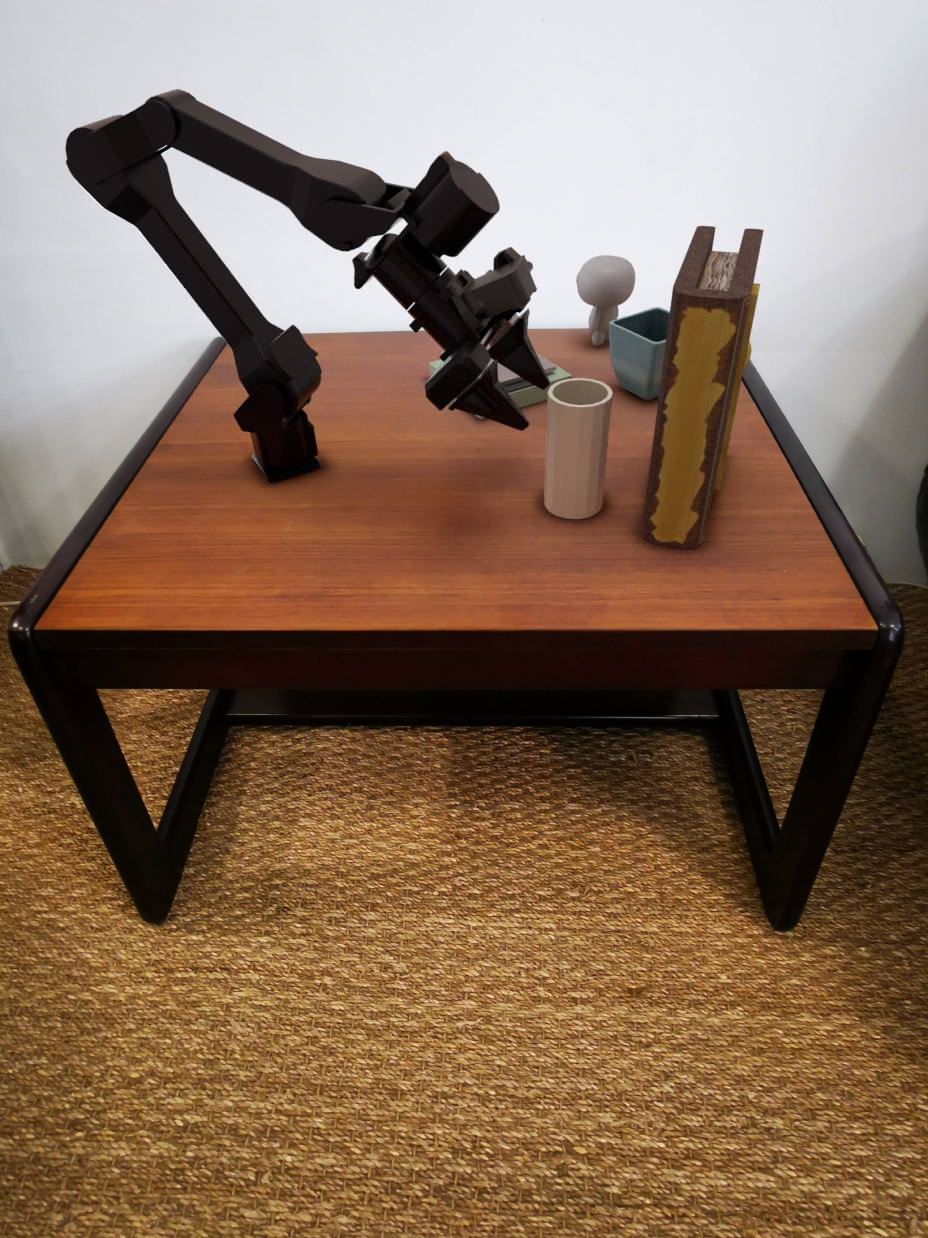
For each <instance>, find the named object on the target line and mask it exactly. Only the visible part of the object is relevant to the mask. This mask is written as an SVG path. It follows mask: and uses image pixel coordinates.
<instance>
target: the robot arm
mask: <svg viewBox="0 0 928 1238" xmlns="http://www.w3.org/2000/svg"><path fill="white" fill-rule="evenodd" d="M171 149H174V150H176V151H178V152H180V153H182V154H183V155H187V157H190V158H193V159H194V160H196V161H198V162H200V163H202V164H203V165H206V166H207V167H209V168H211V169H214V170H216V171H218V172H220V173H222V174H223V175H226V176H227V177H229V178H231V179H233V180H235V181H237V182H239V183H241V184H243V185H245V186H247V187H249V188H251V189H253V190H255V191H257V192H259V193H261V194H263V195H265V196H267V197H269V198H270V199H273V200H275V201H277V202H279V204H281V205H283V206H284V207H285V208H287V209H288V210H289V211H290V212H291V213H292V215H293V216H294V217H295V218H296V220H297V221H298V223H299V224H300V225H301V226H302V227H303V228H304V229H306V231H308V232H309V233H311V234H312V235H314V236H315V237H317V238H318V239H319V240H320V241H322V242H323V243H325V244H326V245H327V246H329V247H330V248H332V249H334V250H337V251H339V252H344V253H345V252H351V251H354V250H356V249H358V248H361V247H362V246H363V245H365V244H366V243H367V242H369V240H371V239H373V237H379V236H381V238H379V240H378V241H377V243H375V245H374V246H373V247H372V248H371V250H370V251H368V252H365V251H360V252H359V253H358V254H356V255H355V256H354V257H353V258H352V259H351V263H352V266H353V287H354V289H356V290H361V289H362V288H363V287H364V286H365V285H367V283H368V282H370V281H371V280H372V279H373V278H374V279H375V280H376V281H377V282H378V283H379V284H380V285H381V286H382V287H383V288H384V289H385V290H386V292H387V293H389V294H390V295H391V296H392V298H393V299H394V300H395V301H396V302H397V303H398V304H399V305H400V306H401V307H402V309H404V310H405V312H407V314H409V315H410V317H411V318H412V319H413V320H412V321H411V323H410V324H409V325H408V327H409V328H410V329H411V330H412V331H413V332H414V333H415V334H417V333H418V332H419V331H420V330H421V329H423V330H424V331H425V332H426V333H427V334H428V336H430V337H431V338H432V340H434V342H435V343H436V344H437V345H438V346H439V347H440V348H441V349H442V350H443V351H442V352H441V353H440V355H439V356H438V358H439V360H442V361H443V363H442V364H441V365H440V366H439V367H438V368H437V369H436V370H435V371H434V373H433V374H432V375H431V377H430V376H429V378H428V379H427V380H426V382H425V384H424V391H425V398H426V399H427V400H428V401H429V402H430V403H431V404H432V405H433V406H434V407H435V408H436V410H438V411H439V412H442V411H443V410H444V409H445V408H447V409H448V410H449V411H450V412H453V411H454V410H457V411H461V412H464V413H469V414H471V415H474V414H475V415H478V416H481V417H484V418H485V419H487V420H489V421H493V422H496V423H498V424H501V425H504V426H507V427H509V428H512V429H515V430H518V431H520V432H524V431H525V430H526V429H528V428H529V427H530V421H529V420H528V418H527V417H526V415H525V413H524V412H523V411H522V409H521V408H519V407H518V406H517V404H516V403H515V402H514V400H513V399H512V398H511V396H510V395H509V394H508V392H507V391H506V390H505V389H504V387H503V386H502V385H501V383H500V382H499V380H498V363H499V364H501V365H502V366H504V367H506V368H507V369H509V370H510V371H512V372H513V373H515V374H517V375H518V376H520V377H521V378H523V379H524V380H526V381H528V382H529V383H531V384H533V385H534V386H536V387H538V388H540V389H542V390H544V389H546V388H547V387H548V386H549V385H550V381H549V378H548V376H547V374H546V372H545V370H544V368H543V366H542V364H541V362H540V360H539V358H538V356H537V354H538V353H537V352H536V350H535V347H534V345H533V343H532V341H531V339H530V336H529V334H528V327H529V317H530V313H531V311H530V308H529V307H528V308H527V309H525V308H526V307H527V305H528V304H529V303H530V301H531V299H532V298H531V297H532V295H533V294H534V293H536V292H537V291H538V288H537V285H536V283H535V280H534V278H533V276H532V273H531V272H532V270H533V269H534V264H533V263H532V262H531V261H528V259H526V255H525V254H523V255H521V254H520V253H518V251H516V250H515V249H514V248H513V247H512V246H509V247H506V248H505V249H502V250H500V251H499V252H497V253H496V255H495V256H494V257H493V263H492V265H493V266H492V267H493V268H492V269H488V270H487V271H486V272H485V273H484V274H482V275H480V276H478V277H476V278H475V277H473V276H472V274H470V273H469V271H468V270H466V269H465V270H463V269H462V268H460V269H459V270H458V272H457V273H455V272H454V271H453V270H452V268H450V267H449V266H448V264H447V263H446V262H445V261H444V260H443V259H442V257H443V256H447V257H449V258H456V257H458V256H459V255H460V254H461V253H462V252H463V251H464V250H465V249H466V248H467V247H468V246H469V244H471V242H472V241H473V240H474V239H475V238H476V237H477V236H478V235H479V234H480V233H481V231H482V230H483V229H484V228H486V226H487V225H488V224H489V223H490V222H491V221H492V219H493V218H494V217H496V215H497V214H498V213H499V212H500V208H501V206H500V201H499V198H498V196H497V194H496V191H495V190H494V188H493V187H492V185H491V184H490V183H489V181H488V180H487V178H486V177H485V176H484V175H483V174H482V173H481V172H479V171H478V172H476V171H475V169H473V168H472V167H471V166H469V165H468V164H466V163H464V162H462V161H460V160H456V159H455V158H454V157H453V155H451V153H450V152H449V151H448V150H447V151H446V150H444V151H443V152H442V153H440V154H439V155H438V156H437V157H436V158H435V159H434V161H433V162H432V163H431V164H430V166H428V169H427V172H426V173H425V175H424V177H423V178H422V179H421V181H419V183H418V184H417V185H416V186H415V187H410V186H405V185H400V184H396V183H392V182H391V183H390V182H386V181H385V180H384V179H383V178H382V176H380V175H379V174H378V173H376V172H375V171H373V170H370V169H368V168H365V167H361V166H358V165H355V164H352V163H348V162H346V161H342V160H338V159H337V160H336V159H329V158H321V157H314V156H310V155H306V154H303V153H301V152H299V151H297V150H295V149H293V148H291V147H290V146H288V145H285V144H284V143H281V142H280V141H278V140H276V139H274V138H271V137H269V136H268V135H266V134H264V133H262V132H260V131H258V130H256V129H255V128H252V127H250V126H248V125H246V124H244V123H242V122H240V121H238V120H237V119H234V118H233V117H231V116H229V115H227V114H225V113H223V112H221V111H219V110H217V109H215V108H213V107H211V106H209V105H207V104H205V103H203V102H201V101H199V100H198V99H197V98H196V97H195V96H194V95H193V94H191V93H190V92H188V91H185V90H182V89H180V88H176V89H171V90H168V91H165V92H161V93H159V94H155V95H153V96H150V97H149V98H148V99H146V100H145V102H144V103H143V104H141V105H139V106H137V108H135V109H134V110H131V111H129V112H128V113H126V114H116V115H111V116H109V117H106V118H102V119H99V120H96V121H94V122H90V123H88V124H85V125H81V126H79V127H76V128H74V129H73V130H72V131H70V132H69V134H68V136H67V137H66V140H65V149H64V150H65V156H66V159H65V164H66V167H67V169H68V171H69V173H70V174H71V176H72V178H73V179H74V180H75V182H77V184H78V185H79V186H80V187H81V188H82V189H83V190H84V191H85V192H86V193H87V194H88V195H89V196H91V198H92V199H93V200H94V201H95V202H96V203H97V204H99V206H100V207H101V208H103V209H104V210H105V211H107V212H109V213H110V214H112V215H114V216H116V217H118V218H119V219H121V220H123V221H124V222H126V223H128V224H130V225H132V226H133V227H134V228H136V229H137V230H138V232H139V233H140V234H141V236H142V237H143V238H144V239H145V241H146V242H147V243H148V244H149V246H150V247H151V248H152V249H153V251H154V252H155V254H157V256H158V257H159V258H160V259H161V261H162V262H163V263H164V265H165V266H166V267H167V269H168V270H169V271H170V272H171V274H172V275H173V276H174V278H175V280H177V282H178V283H179V284H180V285H181V286H182V288H183V289H184V290H185V292H186V293H187V294H188V296H190V298H191V299H192V300H193V302H194V303H195V304H196V305H197V307H198V308H199V309H200V311H201V312H202V313H203V314H204V315H205V317H206V318H207V319H208V321H209V322H210V323H211V325H212V326H213V327H214V329H215V330H216V331H217V333H218V334H219V335H220V336H221V338H222V339H223V340H224V341H225V342H226V344H227V345H228V346H229V348H230V349H231V353H232V356H233V359H234V363H235V364H234V365H235V368H236V372H237V377H238V380H239V382H240V384H241V385H242V387H243V389H244V390H245V392H246V393H247V395H248V397H246V399H244V401H243V402H242V404H241V405H240V406H239V407H238V408H237V409H236V410H235V411H234V412H233V418H234V420H235V422H236V423H237V425H238V428H239V429H240V431H242V432H244V433H250V434H249V435H250V438H251V443H252V447H253V451H254V454H252V455H251V458H252V461H253V463H254V464H255V465H256V467H257V468H258V469H259V471H260V472H261V473H262V475H263V477H264V478H265V479H266V480H267V482H269V483H273V482H276V481H279V480H283V479H286V478H290V477H293V476H298V475H300V474H303V473H306V472H309V471H313V470H317V469H319V468H321V466H322V465H321V462H320V461H319V459H318V458H317V456H318V455H319V449H318V442H317V438H316V437H317V436H316V431H315V426H314V424H313V423H312V422H311V420H310V419H309V417H308V413H307V412H306V411H305V410H304V408H305V407H306V406H307V405H309V404H310V403H311V401H312V396H313V394H314V393H315V392H316V391H318V389H319V387H320V385H321V383H322V374H323V370H322V367H321V365H320V362H319V361H318V359H317V356H319V353H318V352H317V351H316V350H315V349H314V348H312V347H311V346H310V345H309V344H308V343H307V341H306V339H305V338H304V335H303V334H302V333H301V330H300V329H299V328H298V327H297V326H296V325H295V324H291V325H290V326H289V327H287V328H286V329H283V328H281V327H279V326H277V325H276V324H274V323H272V322H271V321H269V320H268V319H267V317H265V315H264V314H263V313H262V312H261V310H260V309H259V308H258V306H257V305H256V303H255V302H254V300H253V299H252V298H251V296H249V294H248V293H247V291H246V290H245V288H244V287H243V286H242V285H241V283H240V282H239V281H238V280H237V278H236V276H234V274H233V273H232V272H231V270H230V269H229V267H228V266H227V265H226V264H225V261H223V259H222V258H221V257H220V255H219V254H218V253H217V251H216V250H215V248H214V247H213V246H212V244H211V243H210V242H209V241H208V240H207V238H206V237H205V235H204V234H203V233H202V232H201V230H200V229H199V228H198V226H197V225H196V224H195V222H194V221H193V219H192V218H191V217H190V216H189V214H188V213H187V211H186V210H185V209H184V207H183V206H182V205H181V203H180V202H179V200H178V199H177V197H176V195H175V193H174V192H175V191H174V188H173V183H172V179H171V176H170V172H169V171H170V170H169V167H168V163H167V162H166V160H165V158H164V157H163V154H165V153H167V152H168V151H170V150H171ZM402 220H404V222H405V223H406V225H405V226H404V228H403V229H402V230H401V231H400V233H398V234H397V233H392V232H389V231H391V229H393V228H395V226H396V225H397V224H398V223H400V222H401V221H402ZM517 313H518V314H520V313H521V314H520V315H518V314H517ZM488 345H490V346H489V347H488V349H486V347H487V346H488ZM536 353H537V354H536ZM490 358H491V359H493V360H494V361H493V362H492V363H491V364H490V365H489V366H487V365H488V363H489V362H490V360H491V359H490ZM475 415H474V416H475Z"/></svg>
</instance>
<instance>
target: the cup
mask: <svg viewBox="0 0 928 1238" xmlns="http://www.w3.org/2000/svg"><path fill="white" fill-rule="evenodd" d="M613 395H614V392H613V390H612V388H611V387H610V386H609V385H608V384H606V383H604V382H603V381H600V380H596V379H594V378H585V377H584V378H583V377H575V378H573V377H572V379H566V380H562V381H559V382H556V383H555V384H553V385H552V386H550V388H549V390H548V398H547V400H546V401H547V402H546V427H545V428H546V431H545V455H544V456H545V459H544V484H543V489H544V490H543V502H544V503H543V504H544V507H545V508H546V510H547V511H548V512H549V513H550V514H552V515H554V516H556V517H559V518H562V519H567V520H582V519H587V518H590V517H593V516H595V515H596V514H597V513H598V514H599V512H600V511H601V510H602V507H603V502H604V496H605V485H606V484H605V483H606V473H607V471H606V470H607V462H608V450H609V441H610V430H611V419H612V408H613V397H614V396H613Z"/></svg>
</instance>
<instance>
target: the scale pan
mask: <svg viewBox="0 0 928 1238" xmlns="http://www.w3.org/2000/svg"><path fill="white" fill-rule="evenodd" d="M489 346H490V345H489V344H488V346H487V347H486V349H488V347H489ZM538 354H539V353H537V356H538V358H539V360H540V362H541V364H542V366H543V368H544V370H545V372H546V373H549V372H552V371H556V366H557V365H556V364H555V363H553V362H552V363H553V364H552V363H550V362H551V361H550V360H549V361H550V362H549V361H547V360H548V359H547V358H545V357H544V356H542V355H541V356H542V357H541V356H539V355H540V354H539V355H538ZM543 357H544V358H545V359H544V358H543ZM490 359H491V358H490ZM546 359H547V360H546ZM493 361H494V360H493V359H491V360H490V362H489V363H488V365H487V366H489V365H490V364H491V363H492V362H493ZM554 364H555V365H556V366H555V365H554ZM498 380H499V382H500V383H501V385H502V386H503V385H507V384H510V383H514V382H517V381H521V380H524V379H523V378H521V377H520V376H518V375H517V374H515V373H513V372H512V371H510V370H509V369H507V368H506V367H504V366H502V365H501V364H499V363H498Z"/></svg>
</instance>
